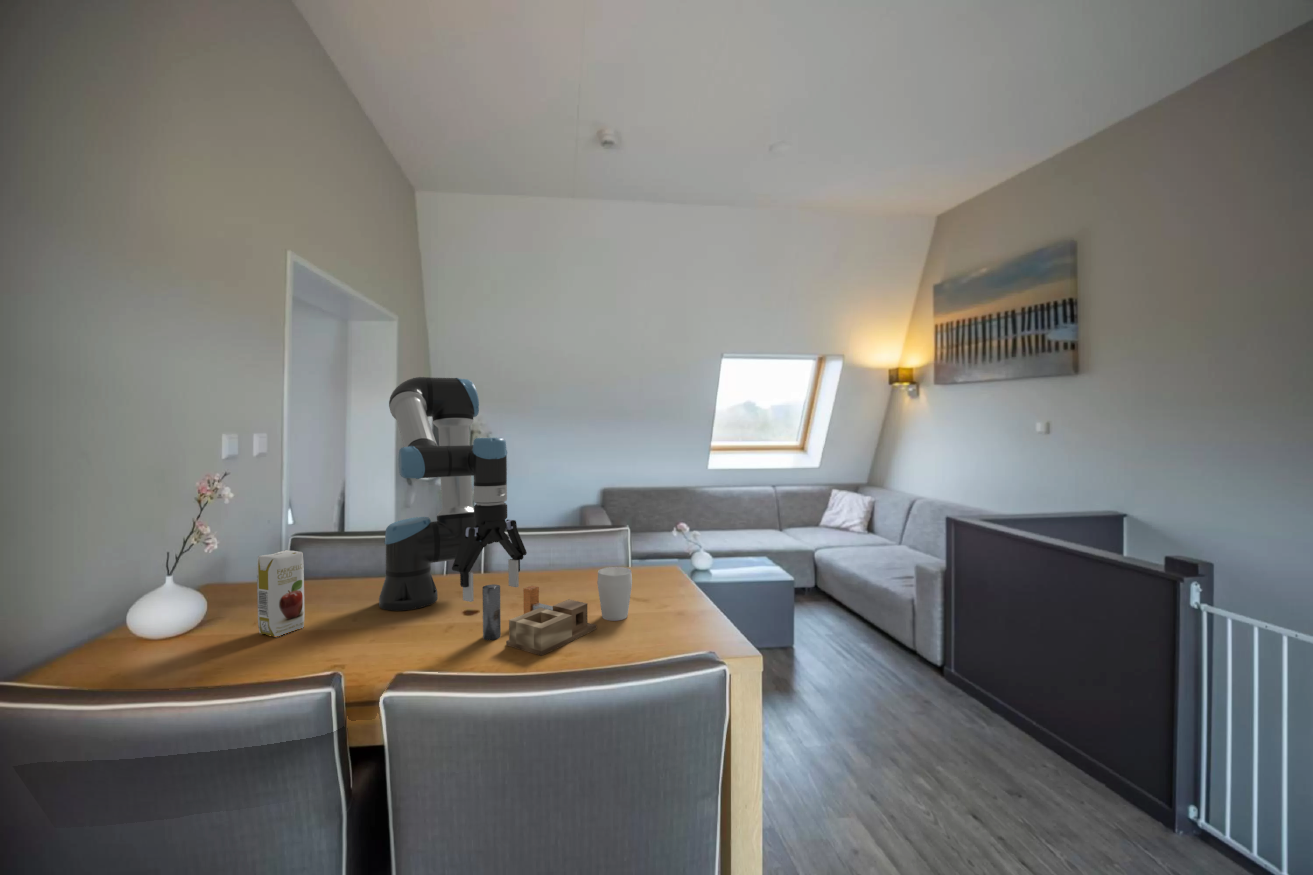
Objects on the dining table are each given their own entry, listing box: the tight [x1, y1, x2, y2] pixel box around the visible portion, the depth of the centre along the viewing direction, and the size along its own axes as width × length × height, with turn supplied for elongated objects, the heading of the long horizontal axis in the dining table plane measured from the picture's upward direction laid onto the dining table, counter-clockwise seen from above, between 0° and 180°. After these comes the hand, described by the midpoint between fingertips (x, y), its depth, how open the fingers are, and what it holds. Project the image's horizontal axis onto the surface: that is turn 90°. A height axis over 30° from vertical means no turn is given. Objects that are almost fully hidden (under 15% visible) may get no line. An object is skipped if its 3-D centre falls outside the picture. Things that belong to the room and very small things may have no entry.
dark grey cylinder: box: [482, 583, 502, 641], centre depth 134 cm, size 4×4×12 cm
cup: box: [596, 566, 633, 622], centre depth 148 cm, size 9×9×12 cm
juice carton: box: [256, 549, 306, 637], centre depth 138 cm, size 8×9×19 cm
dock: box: [505, 598, 597, 656], centre depth 135 cm, size 11×19×6 cm, turn 147°
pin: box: [522, 585, 553, 614], centre depth 142 cm, size 14×3×8 cm, turn 57°
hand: (491, 593), depth 134 cm, fingers open, 13 cm apart
